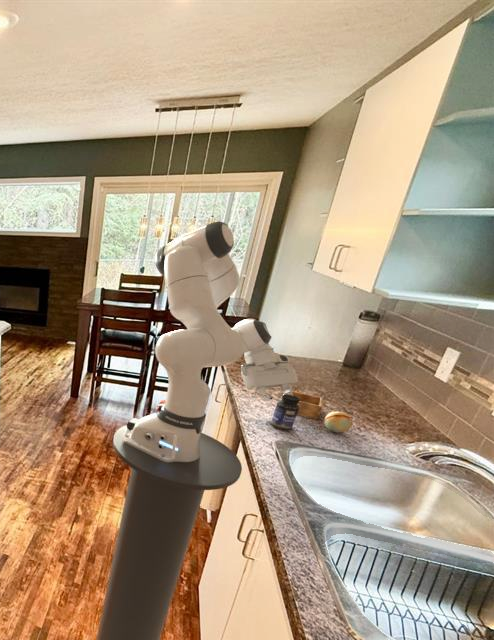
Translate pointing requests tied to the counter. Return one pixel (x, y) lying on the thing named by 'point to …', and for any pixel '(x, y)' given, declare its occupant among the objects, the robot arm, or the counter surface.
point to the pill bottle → (285, 412)
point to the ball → (338, 422)
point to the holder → (309, 405)
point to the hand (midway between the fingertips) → (279, 398)
